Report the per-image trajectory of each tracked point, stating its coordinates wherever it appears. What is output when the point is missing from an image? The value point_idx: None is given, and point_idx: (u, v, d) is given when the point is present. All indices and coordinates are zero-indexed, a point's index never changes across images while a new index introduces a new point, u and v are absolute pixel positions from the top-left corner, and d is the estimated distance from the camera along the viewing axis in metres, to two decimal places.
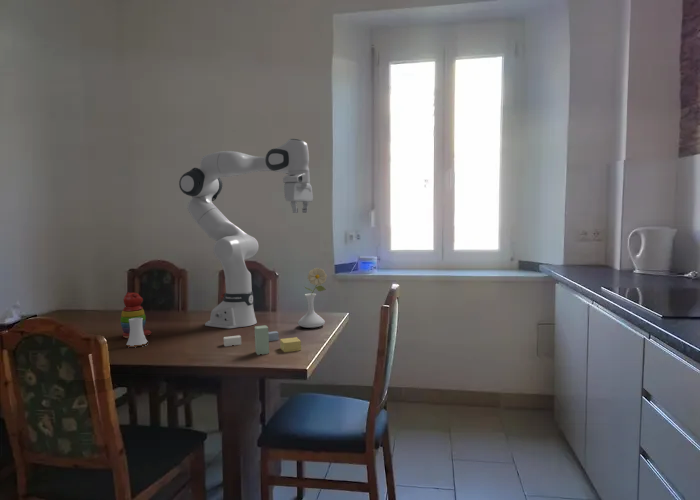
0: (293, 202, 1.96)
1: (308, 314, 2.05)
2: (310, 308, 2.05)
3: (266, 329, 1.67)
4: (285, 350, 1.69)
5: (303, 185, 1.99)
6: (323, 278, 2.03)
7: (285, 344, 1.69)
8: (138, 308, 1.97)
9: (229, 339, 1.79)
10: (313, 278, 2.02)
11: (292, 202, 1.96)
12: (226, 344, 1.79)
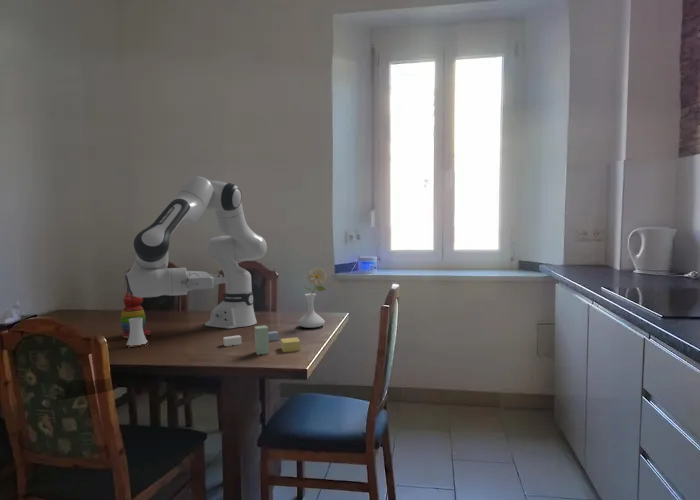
0: None
1: (308, 314, 2.05)
2: (310, 308, 2.05)
3: (266, 329, 1.67)
4: (284, 350, 1.69)
5: None
6: (323, 278, 2.03)
7: (284, 344, 1.69)
8: (138, 308, 1.97)
9: (230, 339, 1.79)
10: (313, 278, 2.02)
11: None
12: (227, 344, 1.79)
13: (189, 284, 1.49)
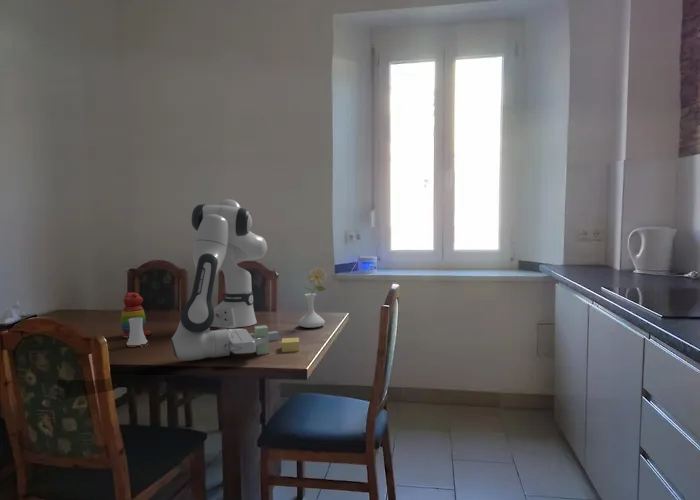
0: None
1: (308, 314, 2.05)
2: (310, 308, 2.05)
3: (266, 329, 1.67)
4: (283, 350, 1.70)
5: None
6: (323, 278, 2.03)
7: (283, 344, 1.69)
8: (138, 308, 1.97)
9: None
10: (313, 278, 2.02)
11: None
12: None
13: (233, 349, 1.55)
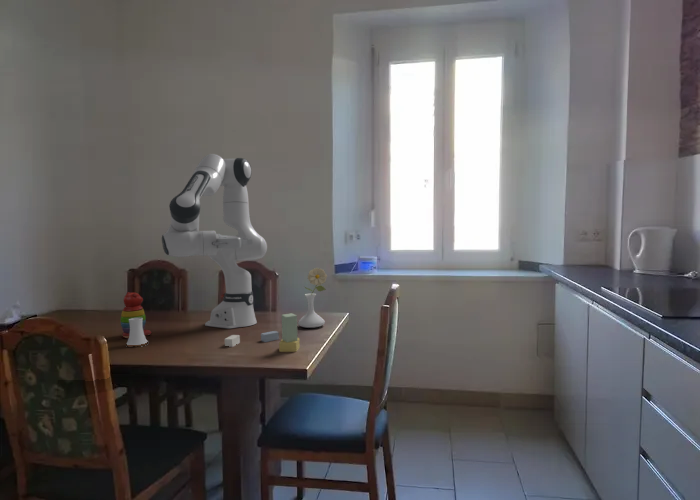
0: None
1: (308, 314, 2.05)
2: (310, 308, 2.05)
3: (295, 317, 1.70)
4: (280, 350, 1.70)
5: None
6: (323, 278, 2.03)
7: (280, 344, 1.70)
8: (138, 308, 1.97)
9: (234, 339, 1.80)
10: (313, 278, 2.02)
11: None
12: (233, 344, 1.79)
13: (219, 243, 1.66)
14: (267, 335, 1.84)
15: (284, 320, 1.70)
